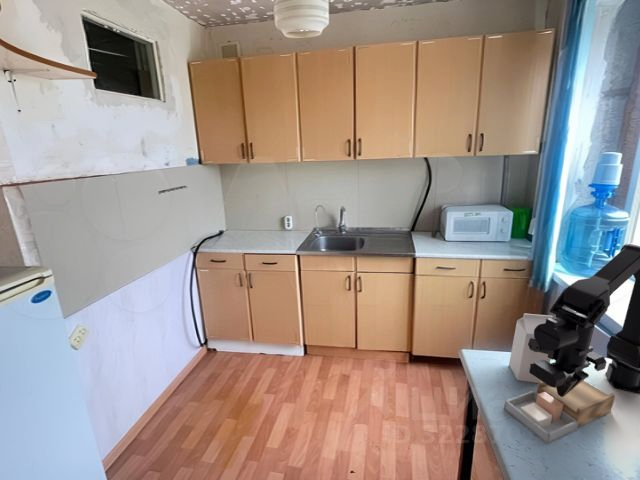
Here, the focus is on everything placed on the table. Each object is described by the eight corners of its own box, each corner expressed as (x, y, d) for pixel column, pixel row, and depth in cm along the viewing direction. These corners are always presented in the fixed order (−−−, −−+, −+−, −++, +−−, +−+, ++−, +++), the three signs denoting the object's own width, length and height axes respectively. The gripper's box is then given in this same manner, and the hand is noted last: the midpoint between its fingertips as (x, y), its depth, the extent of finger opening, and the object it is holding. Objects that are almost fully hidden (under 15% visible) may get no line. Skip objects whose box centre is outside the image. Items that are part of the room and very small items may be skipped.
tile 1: (521, 407, 80) (519, 415, 81) (538, 421, 76) (536, 430, 77) (534, 402, 82) (532, 410, 82) (552, 415, 78) (550, 424, 78)
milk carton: (545, 384, 92) (559, 322, 87) (517, 380, 93) (528, 320, 88) (534, 368, 99) (547, 310, 94) (508, 364, 100) (519, 307, 95)
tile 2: (544, 391, 82) (537, 394, 81) (563, 404, 78) (556, 407, 77) (541, 406, 84) (534, 409, 83) (559, 419, 80) (552, 423, 79)
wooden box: (568, 386, 91) (572, 369, 90) (610, 412, 82) (615, 394, 81) (535, 398, 87) (538, 382, 85) (575, 428, 78) (580, 409, 76)
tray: (531, 398, 87) (533, 390, 86) (576, 430, 77) (578, 421, 77) (503, 408, 84) (505, 400, 83) (546, 444, 74) (548, 435, 73)
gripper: (565, 315, 88) (554, 366, 92) (514, 329, 81) (504, 384, 85) (614, 337, 78) (599, 393, 82) (560, 355, 71) (546, 415, 75)
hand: (560, 395), depth 81 cm, fingers closed
